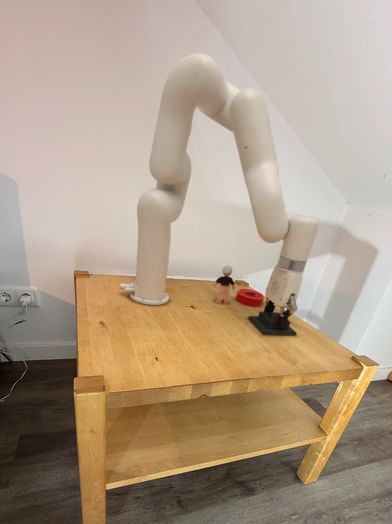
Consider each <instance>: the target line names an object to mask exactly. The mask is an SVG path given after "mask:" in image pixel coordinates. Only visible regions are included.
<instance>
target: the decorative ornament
mask: <svg viewBox="0 0 392 524" xmlns="http://www.w3.org/2000/svg"><path fill="white" fill-rule="evenodd" d="M235 297H236V298H235V300H236V301H237V302H238V303H240V304H241V305H245V306H249V307H260V306H262V305H263V302H264V298H265V295H264V294H263V293H261V292H259V291H257V290H254V289H250V288H249V289H248V288H241V289H238V290H237V293H236V296H235Z"/></svg>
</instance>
